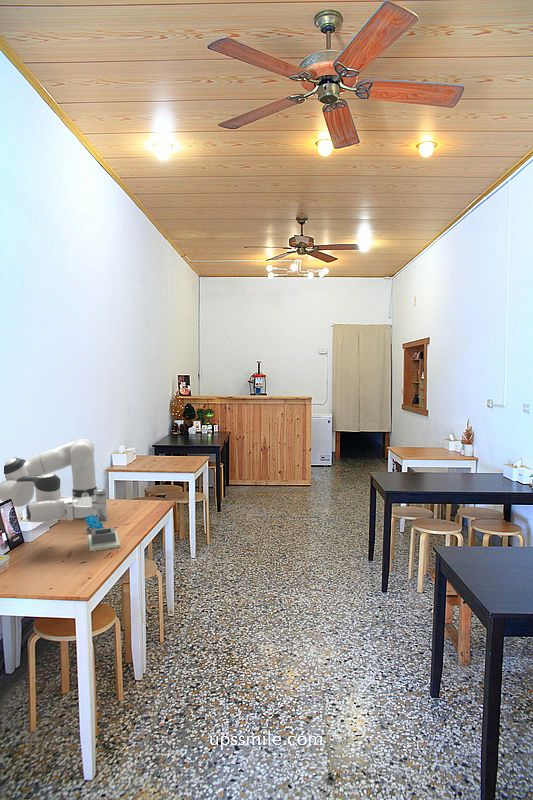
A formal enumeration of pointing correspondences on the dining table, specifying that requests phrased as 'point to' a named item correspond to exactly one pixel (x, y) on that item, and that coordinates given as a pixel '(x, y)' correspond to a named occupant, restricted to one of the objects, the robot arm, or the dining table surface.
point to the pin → (101, 499)
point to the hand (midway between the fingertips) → (103, 503)
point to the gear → (93, 522)
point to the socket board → (103, 539)
